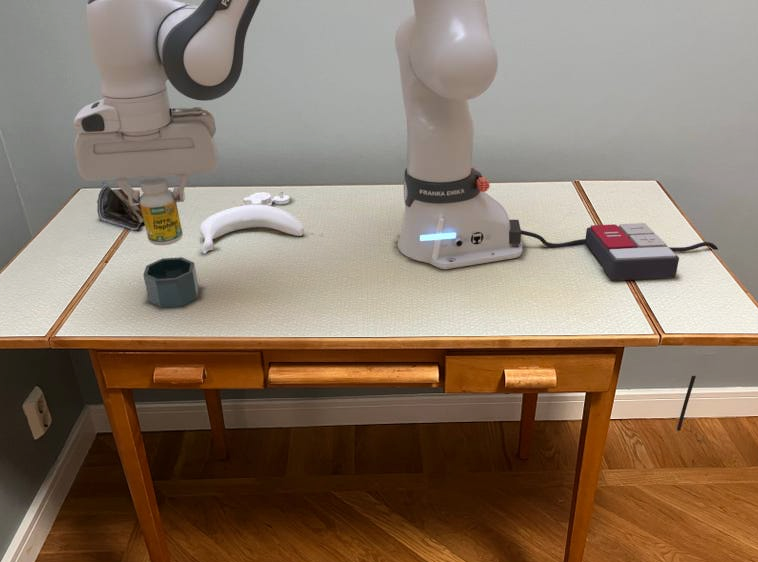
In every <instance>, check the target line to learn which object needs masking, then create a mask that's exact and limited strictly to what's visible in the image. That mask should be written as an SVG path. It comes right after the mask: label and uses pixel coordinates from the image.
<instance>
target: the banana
mask: <svg viewBox="0 0 758 562" xmlns="http://www.w3.org/2000/svg"><path fill="white" fill-rule="evenodd" d="M250 228H252V229H253V228H269V229H272V230H276V231H279V232H282V233H284V234H289V235H290V236H291V235H292V236H295V237H299V236H300V237H301V236H303V235H304V226H303V224H302V223H301V221H300V220H299V219H298V218H297V217H296V216H294V215H293V214H291V213H289V212H288V211H286V210H283V209H280V208H278V207H276V206H273V205H271V206H267V205H244V206H243V205H238V206H234V207H230V208H227V209H223V210H221V211H218V212H216V213H213V214H212V215H210V216H208V217H206V218H205V219H204V220H202V222H201V224H200V225H199V235H200V236H201V237H202V238H203V239H204V242H203V243H202V248H201V251H202V253H203V254H206V253H207V252H209V251H215V248H214V242H213V240H214V239H217V238H220V237H221V236H222V237H223V236H224V235H226V234H229V233H232V232H235V231H239V230H243V229H250Z"/></svg>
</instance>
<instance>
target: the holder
mask: <svg viewBox="0 0 758 562" xmlns="http://www.w3.org/2000/svg"><path fill="white" fill-rule="evenodd" d="M196 269H197V268H196V264H195V262H194V261H192V260H189V259H187V258H185V257H182V256H180V257H179V256H178V257H166V258H165V257H164V258H161V259H158V260H156V261H153V262H151V263H149V264H147V265H146V266H145V269H144V271H143V280H144V284H145V290H146V293H147V299H148V302H149V303H150V304H152V305H154V306H156V307H159V308H160V309H166V308H167V309H169V308H181V307H184V306H185V305H188V304H190V303H193V301H196V300H198V296H199V291H200V287H199V281H198V275H197V270H196Z"/></svg>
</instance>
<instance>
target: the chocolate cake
mask: <svg viewBox="0 0 758 562" xmlns="http://www.w3.org/2000/svg"><path fill="white" fill-rule="evenodd" d="M96 204H97V207H96V208H97V209H96V211H97V216H98V218H99V220H101V221H103V222H104V223H106V222H107V223H108V224H113V225H115V226H119V227H122V228H125V229H128V230H131V231H136V230H138V229H139V227H140V226H141V224H142V223H144V218H143V214H142V210H141V206H140V205H130V202H129V198H128V195H126V194H125V193H124V192H123V190H122V189H121V188H116V189H112V188H111V187H110V186H109V185H108V184H107V183H106V182H104V181H102V184H101V190H100V191H99V193H98V198H97V201H96Z"/></svg>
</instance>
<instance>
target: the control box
mask: <svg viewBox="0 0 758 562" xmlns="http://www.w3.org/2000/svg"><path fill="white" fill-rule="evenodd" d="M584 239H586V243H584V244H585V245H586V246H587V248H588V249H589V250H590V252H591V253H592V254H593V255H594V256H595V258H596V259H597V260H598V261H599V262H600V264H601V266H602V267H603V272H604V273H605V274H606V275H607V277H608V279H609V280H611V281H630V280H631V281H632V280H633V281H634V280H651V279H653V280H654V279H672V278H676V276H677V272H678V265H679V262H680V257H679V256H678V254H676V252H673V251H672V250H671V249H670V248H669V246H668V245H667V242H665V241H664V240H663V239H662V238H661V237H660V236H659V235H658V234H656V233H655V231H653V229H652V228H651V227H649V226H648V225H647V224H646V223H645V222H637V223H620V224H619V225H617V224H614V223H613V224H593V225H590V227H587V228H586V231H585V238H584Z"/></svg>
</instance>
